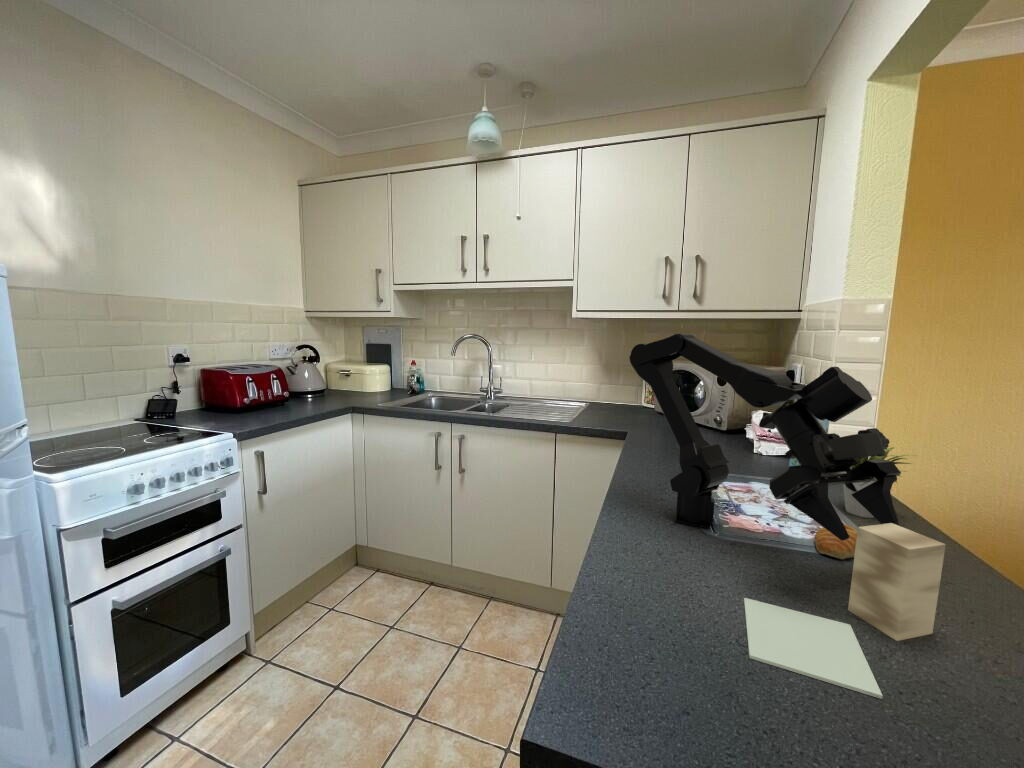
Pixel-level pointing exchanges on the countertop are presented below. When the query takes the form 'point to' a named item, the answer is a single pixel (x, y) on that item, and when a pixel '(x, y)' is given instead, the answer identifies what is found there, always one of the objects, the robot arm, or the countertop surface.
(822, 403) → the robot arm
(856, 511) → the house plant
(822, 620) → the sage mat
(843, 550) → the pastry
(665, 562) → the countertop surface
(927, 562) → the birch block
